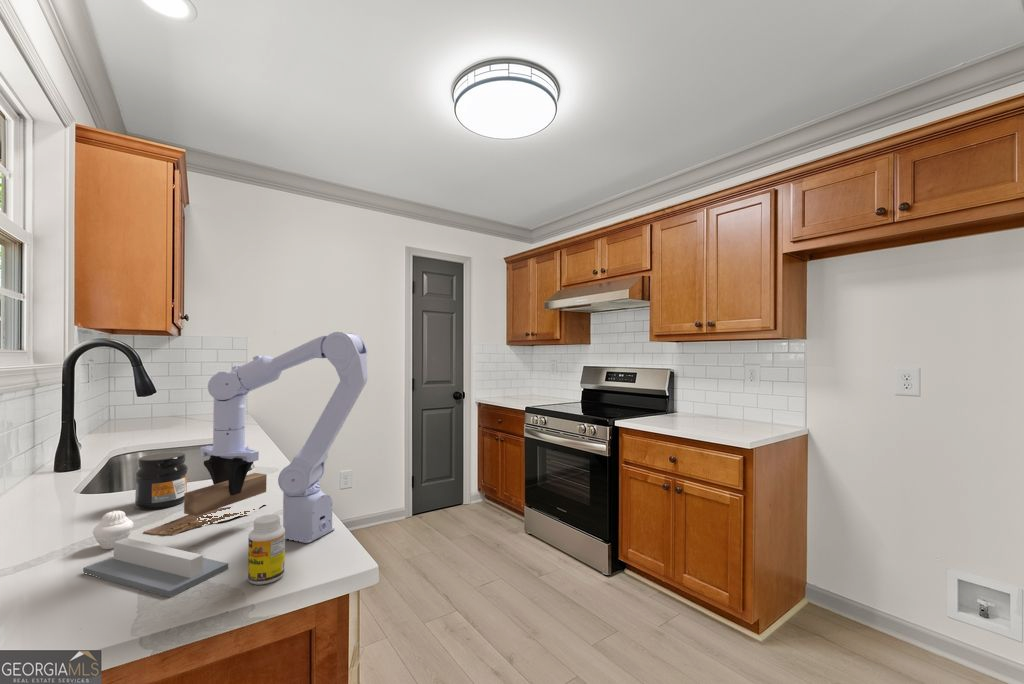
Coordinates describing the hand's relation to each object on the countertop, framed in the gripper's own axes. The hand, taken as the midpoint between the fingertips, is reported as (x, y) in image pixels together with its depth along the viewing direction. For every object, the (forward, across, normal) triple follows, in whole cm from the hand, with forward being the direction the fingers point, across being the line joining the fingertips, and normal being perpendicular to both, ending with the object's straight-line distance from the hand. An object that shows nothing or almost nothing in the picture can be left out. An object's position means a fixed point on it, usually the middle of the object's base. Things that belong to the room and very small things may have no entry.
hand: (228, 492), depth 97 cm
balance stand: (+9, -3, +16) cm, 18 cm away
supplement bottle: (+9, -23, +11) cm, 27 cm away
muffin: (+9, +16, +12) cm, 22 cm away
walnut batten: (+2, 0, 0) cm, 2 cm away
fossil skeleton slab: (+9, +12, -6) cm, 16 cm away
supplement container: (+9, +33, -8) cm, 35 cm away
